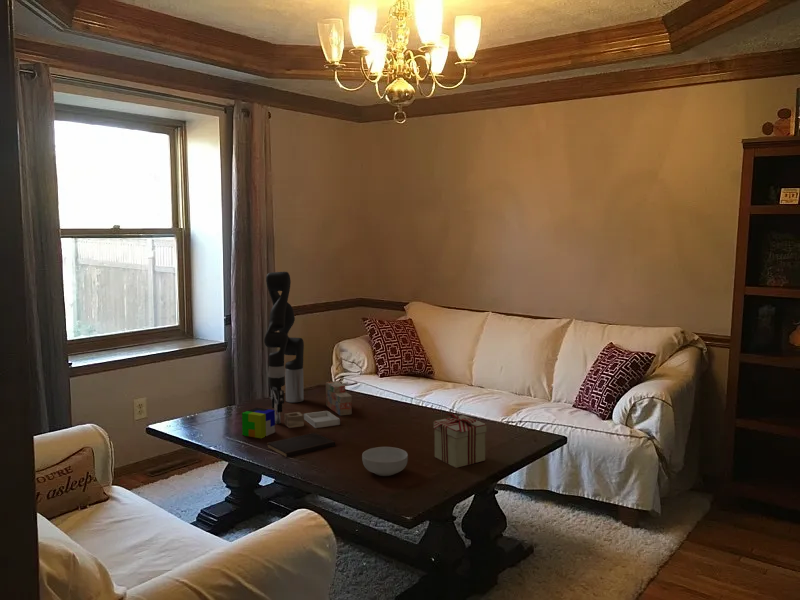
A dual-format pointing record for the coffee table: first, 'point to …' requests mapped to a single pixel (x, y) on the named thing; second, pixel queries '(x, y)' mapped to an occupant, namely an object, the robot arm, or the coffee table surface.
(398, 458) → the cereal bowl
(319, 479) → the coffee table surface
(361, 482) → the coffee table surface
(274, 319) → the robot arm
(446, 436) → the gift box
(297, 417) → the maple bore block
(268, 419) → the puzzle toy
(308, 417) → the tray
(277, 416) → the cylinder
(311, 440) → the hardcover book
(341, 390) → the stack of blocks
